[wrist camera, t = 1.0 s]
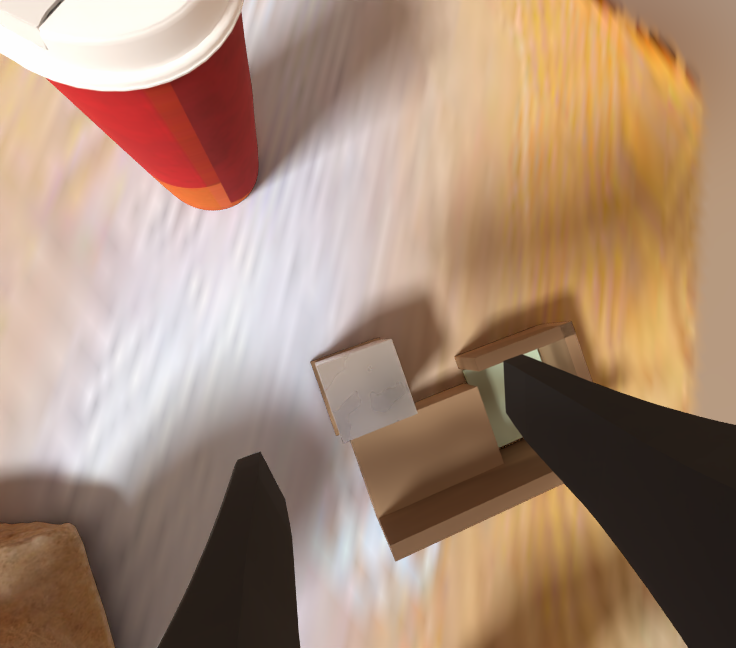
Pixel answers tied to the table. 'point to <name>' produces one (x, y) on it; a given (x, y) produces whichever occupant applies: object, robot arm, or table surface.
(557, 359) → the walnut cabinet
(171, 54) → the paper cup
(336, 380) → the steel cube
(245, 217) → the table surface
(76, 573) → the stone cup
